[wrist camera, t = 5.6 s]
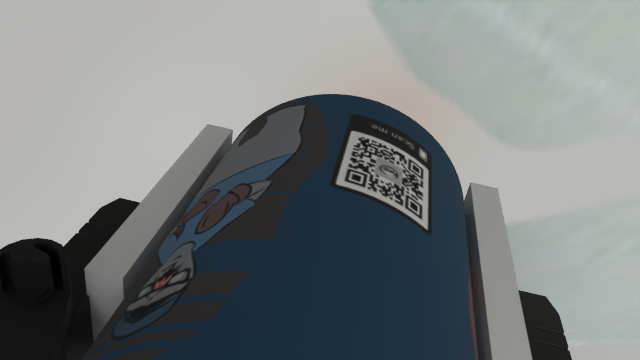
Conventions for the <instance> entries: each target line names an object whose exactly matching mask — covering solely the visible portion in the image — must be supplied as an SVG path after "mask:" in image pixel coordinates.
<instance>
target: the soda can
mask: <svg viewBox="0 0 640 360" xmlns="http://www.w3.org/2000/svg"><path fill="white" fill-rule="evenodd" d="M81 360H478V352H477V341H476V330H475V319H474V308H473V297H472V286H471V276H470V265H469V254H468V243H467V232H466V221H465V210H464V200H463V193H462V188H461V184H460V181H459V178H458V175H457V173H456V170H455V168H454V166H453V164H452V162H451V160H450V158H449V157H448V155H447V154H446V152H445V151H444V149H443V148H442V147H441V146H440V144H439V143H438V142H437V141H436V140H435V139H434V137H433V136H432V135H431V134H430V133H429V132H428V131H426V130H425V129H424V128H423V127H422V126H421V125H419V124H418V123H417V122H416V121H414V120H413V119H411V118H410V117H408V116H407V115H405V114H403V113H401V112H400V111H398V110H396V109H394V108H391V107H390V106H387V105H385V104H382V103H380V102H376V101H373V100H370V99H366V98H362V97H357V96H351V95H340V94H322V95H313V96H306V97H302V98H297V99H294V100H291V101H288V102H285V103H282V104H280V105H278V106H276V107H274V108H272V109H270V110H268V111H266V112H265V113H263V114H261V115H260V116H259V117H257V118H256V119H255V120H253V121H252V122H251V123H250V124H249V125H248V126H247V127H246V128H245V129H244V130H243V131H242V132H241V133H240V134H239V136H238V137H237V138H236V140H235V141H234V142H233V144H232V145H231V147H230V148H229V150H228V151H227V152H226V154H225V155H224V157H223V158H222V160H221V161H220V162H219V164H218V165H217V167H216V168H215V170H214V171H213V172H212V174H211V175H210V177H209V178H208V179H207V181H206V182H205V184H204V185H203V187H202V188H201V189H200V191H199V192H198V194H197V195H196V197H195V198H194V199H193V201H192V202H191V204H190V205H189V207H188V208H187V209H186V211H185V212H184V214H183V215H182V217H181V218H180V219H179V221H178V222H177V224H176V225H175V227H174V228H173V229H172V231H171V232H170V234H169V235H168V236H167V238H166V239H165V241H164V242H163V244H162V245H161V246H160V248H159V249H158V251H157V252H156V254H155V255H154V256H153V258H152V259H151V261H150V262H149V264H148V265H147V266H146V268H145V269H144V271H143V272H142V274H141V275H140V276H139V278H138V279H137V281H136V282H135V284H134V285H133V286H132V288H131V289H130V291H129V292H128V293H127V295H126V296H125V298H124V299H123V301H122V302H121V303H120V305H119V306H118V308H117V309H116V311H115V312H114V313H113V315H112V316H111V318H110V319H109V321H108V322H107V323H106V325H105V326H104V328H103V329H102V331H101V332H100V333H99V335H98V336H97V338H96V339H95V340H94V342H93V343H92V345H91V346H90V348H89V349H88V350H87V352H86V353H85V355H84V356H83V358H82V359H81Z"/></svg>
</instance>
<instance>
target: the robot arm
mask: <svg viewBox="0 0 640 360" xmlns="http://www.w3.org/2000/svg"><path fill="white" fill-rule="evenodd" d="M232 132H233V130H231V129H227V128H222V127H218V126H213V125H209V124H208V125H207V126H206V127H205V128H204V129H203V130H202V131H201V133H200V134H199V135H198V136H197V137H196V139H195V140H194V141H193V142H192V144H190V146H189V147H188V148H187V149H186V150H185V152H184V153H183V154H182V155H181V156H180V157H179V159H178V160H177V161H176V162H175V163H174V164H173V166H172V167H171V168H170V169H169V170H168V172H167V173H166V174H165V175H164V176H163V177H162V178H161V180H160V181H159V182H158V183H157V184H156V185H155V187H154V188H153V189H152V190H151V191H150V193H149V194H148V195H147V196H146V197H145V198H144V200H143V201H142V202H141V203H139V202H135V201H130V200H126V199H122V198H119V199H117V200H115V201H113V202H111V203H109V204H107V205H105V206H103V207H101V208H100V209H99V210H98V211H97V212H96V213H95V214H94V215H93V216H92V218H91V219H90V220H89V222H88V223H86V224H85V225H84V226H83V227H82V228H81V229H80V230H79V233H77V234H75V235H74V236H73V238H71V239H70V240H69V242H68V243H67V244H66V245H65V246H64V247H63V246H62V245H61V244H59V243H57V242H55V241H53V240H48V239H41V238H34V239H26V240H20V241H18V242H14V243H11V244H8V245H7V246H5V247H3V248H2V249H0V360H81V359H82V358H83V356H84V355H85V353H86V352H87V350H88V349H89V348H90V346H91V345H92V343H93V342H94V340H95V339H96V338H97V336H98V335H99V333H100V332H101V331H102V329H103V328H104V326H105V325H106V323H107V322H108V321H109V319H110V318H111V316H112V315H113V313H114V312H115V311H116V309H117V308H118V306H119V305H120V303H121V302H122V301H123V299H124V298H125V296H126V295H127V293H128V292H129V291H130V289H131V288H132V286H133V285H134V284H135V282H136V281H137V279H138V278H139V276H140V275H141V274H142V272H143V271H144V269H145V268H146V266H147V265H148V264H149V262H150V261H151V259H152V258H153V256H154V255H155V254H156V252H157V251H158V249H159V248H160V246H161V245H162V244H163V242H164V241H165V239H166V238H167V236H168V235H169V234H170V232H171V231H172V229H173V228H174V227H175V225H176V224H177V222H178V221H179V219H180V218H181V217H182V215H183V214H184V212H185V211H186V209H187V208H188V207H189V205H190V204H191V202H192V201H193V199H194V198H195V197H196V195H197V194H198V192H199V191H200V189H201V188H202V187H203V185H204V184H205V182H206V181H207V179H208V178H209V177H210V175H211V174H212V172H213V171H214V170H215V168H216V167H217V165H218V164H219V162H220V161H221V160H222V158H223V157H224V155H225V154H226V152H227V151H228V150H229V148H230V147H231V145H232ZM464 210H465V221H466V232H467V243H468V254H469V265H470V276H471V286H472V297H473V308H474V319H475V330H476V341H477V352H478V360H572V359H571V355H570V352H569V351H568V344H567V341H566V337H565V336H564V330H563V327H562V323H561V320H560V316H559V314H558V312H557V311H556V310H555V308H554V307H553V306H552V304H551V303H550V302H549V300H548V299H547V298H546V297H545V296H541V295H537V294H532V293H528V292H524V291H520V290H518V287H517V282H516V277H515V272H514V267H513V262H512V257H511V252H510V247H509V242H508V238H507V233H506V228H505V223H504V218H503V213H502V208H501V203H500V198H499V193H498V189H497V188H492V187H488V186H483V185H479V184H474V183H470V186H469V189H468V191H467V194H466V197H465V200H464Z"/></svg>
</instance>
